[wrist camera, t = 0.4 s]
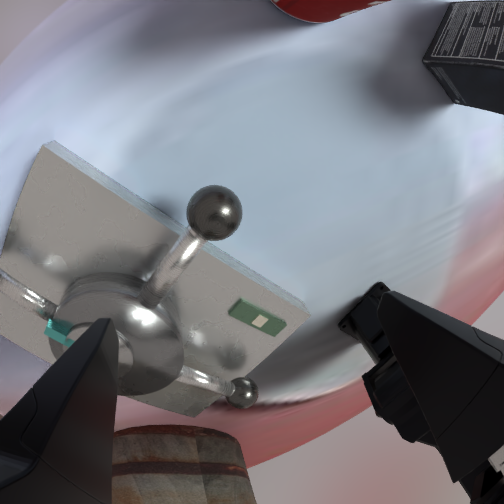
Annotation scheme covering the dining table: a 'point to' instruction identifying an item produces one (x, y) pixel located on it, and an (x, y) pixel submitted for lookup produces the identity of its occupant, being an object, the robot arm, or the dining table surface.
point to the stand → (136, 274)
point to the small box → (471, 54)
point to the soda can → (323, 8)
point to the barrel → (178, 467)
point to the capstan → (144, 308)
